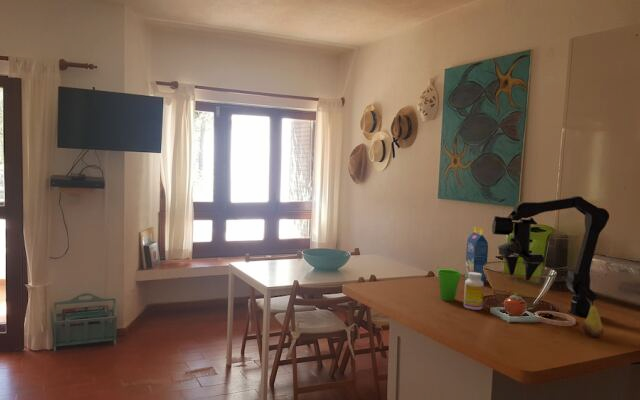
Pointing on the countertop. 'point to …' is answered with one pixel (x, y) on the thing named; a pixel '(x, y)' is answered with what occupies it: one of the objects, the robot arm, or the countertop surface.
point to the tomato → (515, 306)
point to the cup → (448, 283)
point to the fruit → (593, 323)
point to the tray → (514, 319)
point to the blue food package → (476, 253)
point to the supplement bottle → (473, 291)
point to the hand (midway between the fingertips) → (519, 277)
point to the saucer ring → (554, 322)
